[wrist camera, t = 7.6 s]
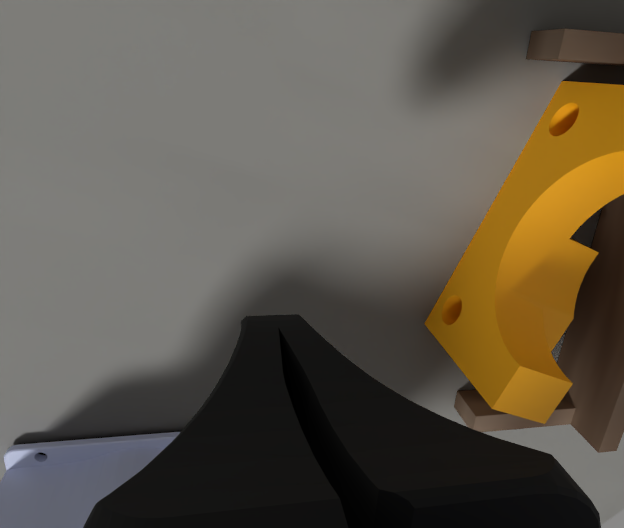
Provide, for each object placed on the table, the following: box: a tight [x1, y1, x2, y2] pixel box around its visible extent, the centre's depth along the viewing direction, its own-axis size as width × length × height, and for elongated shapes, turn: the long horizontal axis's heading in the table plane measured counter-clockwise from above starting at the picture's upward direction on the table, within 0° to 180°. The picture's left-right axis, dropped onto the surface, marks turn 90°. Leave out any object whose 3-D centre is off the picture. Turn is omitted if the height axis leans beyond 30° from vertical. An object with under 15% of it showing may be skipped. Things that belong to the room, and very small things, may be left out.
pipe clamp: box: [424, 81, 624, 424], centre depth 20 cm, size 12×4×6 cm, turn 156°
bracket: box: [454, 29, 624, 453], centre depth 21 cm, size 6×18×4 cm, turn 177°
